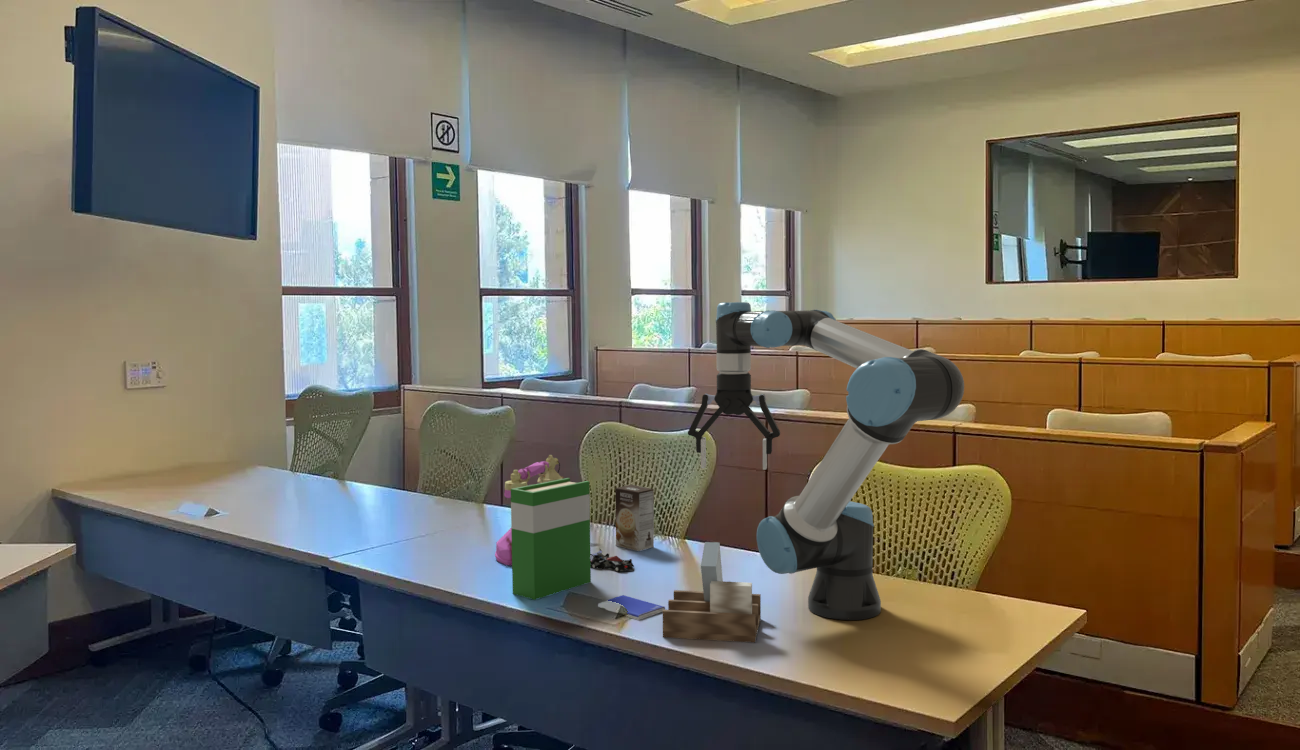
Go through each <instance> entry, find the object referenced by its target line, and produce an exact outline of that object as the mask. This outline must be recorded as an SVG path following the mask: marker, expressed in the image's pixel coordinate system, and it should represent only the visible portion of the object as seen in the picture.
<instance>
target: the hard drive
mask: <svg viewBox="0 0 1300 750" xmlns="http://www.w3.org/2000/svg"><path fill="white" fill-rule="evenodd" d="M607 600H608V601H612V602H616V603H619V604H621V605H623V606H624V607H625V608H626V609H627V611H628V612H627V614H628V616H629V617H628V618H629V619H630V618H631V619H634V620H637V621H639V620H642V619H646V618H648V617H651V616H654V615H657V614H660V613H663V610H666V606H663V605H660V604H657V603H652V602H649V601H646V600H642V599H639V598H636V597H635V598H634V597H631V596H627V595H624V594H623V595H618V596H616V597H612V598H609V599H607Z"/></svg>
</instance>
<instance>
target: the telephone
mask: <svg viewBox="0 0 1300 750" xmlns="http://www.w3.org/2000/svg"><path fill="white" fill-rule="evenodd" d="M556 465H558V466H559V467H558V470H557V471H556V469H555V468H556ZM560 469H561V463H560V462H559V458H557V457H553V455H552V454H548V456H547V458H546V459H545V460H544V461H536V462H534V463H532V464H530V465H528V466H526V467H524V468H520V469H513V471H512V473H510V480H506V481H504V494H503V495H504V497H505V498H506V499H511V489H513V488H518V487H523V486H528V482H529V481H530V480H531V478H532V477H535V476H536V475H537V476H539V477H538V479H537V480H536V481H537V483H538V484H539V483H544V482H549V481H554V480H559V479H564V478H565V476H562V475H560V473H559V472H560ZM495 543H496V546H495V548H496V549H495V552H494V553H495V554H494V557H495V558H496V561H497V562H498V563H501V564H503V565H506V566H512V532H511V527H510V528H509V529H508V530H507V531H506V532H505V533H504V534H503V535H502V536H501V537H500V538H499V539H498V540H497V542H495Z"/></svg>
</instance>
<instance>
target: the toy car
mask: <svg viewBox="0 0 1300 750" xmlns="http://www.w3.org/2000/svg"><path fill="white" fill-rule="evenodd" d="M590 556H592V559H591V569H599V570H605V571H614V572H616V573H621V572H626V571H629V572H630V571H631V572H632V571H633V572H634V571H635V569H634V568H635V565H634V563H633V560H632V558H630V559H621V558H620V557H619V556H617V555H614V556H610V553H606V554H603V550H602V549H601V548H600V547H599V550H598V551H597V552H594V553H590Z"/></svg>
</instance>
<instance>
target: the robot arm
mask: <svg viewBox="0 0 1300 750" xmlns="http://www.w3.org/2000/svg"><path fill="white" fill-rule="evenodd" d="M715 326H716V328H715V330H716V335H715V336H716V354H715V355H716V370H717V372H719V373H717V374H716V394H713V395H712V394H709V393H704V394H703V395H702V396H701V405H700V407H699V408H698V411H697V413H696V415H695V417H694V418H693V421H692V423H691V425H690V427H689V429H688V431H687V434H688V436H690V437H694V438H695V450H696V453H698V454H699V453H700V468H701V469H705V468H706V467H707V438H706V437H703V436H704V434H705V433H706V432H707V431H708V430H709V429H710V428H711V427H712V426H713V424H714V423H716V421H717V419H718V418H719V417H720V416H721V415H722V413H723V414H725V415H726V416H731V415H736V416H741V415H742V414H744V415H745V416H746V417H747V418H748V419H749V420H750V421H751V422H752V423H753V425H754V426H755V427H756V428H757V430H758V431H759V432H760V433H761V434H762V435H763V436H764V437H765V438H763V439H762V471H763V470H767V469H768V455H771V454H772V452H773V440H774V439H775V438H778V437H780V435H781V431H780V429H779V427H778V425H777V423H776V420H775V419H774V417H773V414H772V412H771V411H770V409H769V407H768V405H767V401H766V400H767V398H766V395H765V393H760V394H757V395H753V394H752V375H751V374H750V373H749V371H752V356H751V353H752V350H751V347H762V348H766V349H770V348H779V347H789V346H790V347H795V346H796V347H797V346H805V347H807V348H810V349H812V350H815V351H816V352H819V353H821V354H824V355H826V356H828V357H831V358H833V359H835V360H837V361H839V362H841V363H843V364H846V365H849V366H851V367H852V368H855V370H854V371H853V373H852V374H851V375H850V377H849V380H848V382H847V386H846V392H848V393H847V395H846V396H845V400H846V405H847V406H846V413H847V415H848V419H847V421H846V422H845V424H844V425H843V427H842V429H841V431H839V433H838V434H837V436H836V438H835V439H834V441H833V442H832V444H831V446H830V447H829V449H828V450H827V452H826V454H825V455H824V457H823V458H822V460H821V461H820V463H819V465H818V466H817V467H816V469H815V471H814V472H813V474H812V475H811V477H810V478H809V480H808V482H807V483H806V484H805V486H804V488H803V490H802V491H801V493H799V495H795V496H791V497H790V498H789V499H787V500H786V502H785V503H784V504H783V506H782V508H781V509H780V511H779V512H778V513H777V514H776V515H768V516H767V517H765V518H763V519H762V520H760V522H759V523H758V526H757V529H756V543H757V549H758V552H759V555H760V557H761V559H762V561H763V563H764V564H765V565H766V567H767V568H769V570H771V572H774V573H775V574H780V575H785V574H791V575H792V574H795V573H799V572H803V571H808V570H812V569H816V573H815V576H814V578H813V582H812V584H811V588H810V591H809V594H808V597H807V598H808V600H807V602H808V605H807V606H808V610H809V611H810V612H811V613H813V614H815V615H817V616H820V617H824V618H828V619H832V620H833V619H834V620H841V621H842V620H844V621H859V620H867V619H871V618H874V617H876V616H878V615H880V614H881V609H882V608H881V607H882V601H881V597H880V595H879V591H878V588H877V585H876V582H875V577H874V574H873V573H874V572H873V565H874V564H873V561H874V560H873V556H874V526H875V524H874V521H873V519H874V517H873V511H872V509H871V507H869V506H868V505H866V504H864V503H860V502H855V501H852V499H853V497H854V495H855V494H856V493H857V491H858V490H859V489H860V487H861V486H862V484H863V482H864V481H865V480H866V478H867V477H868V475H869V474H870V473H871V471H872V470H873V468H874V467H875V465H876V464H877V462H878V461H879V459H880V458H881V457H882V455H883V454H884V453H885V451H886V449H887V448H888V446H889V445H896V444H898V443H901V442H902V441H903V440H904V439H905V437H906V436H907V434H908V433H909V432H910V431H911V428H912V427H913V426H914V425H915V424H916V423H917V422H922V421H924V422H925V421H932V420H939V419H942V418H944V417H946V416H949V415H950V414H951V413H952V412H954V411H955V410H956V409H957V407H959V405H960V403H961V402H962V400H963V397H964V393H965V381H964V376H963V374H962V373H961V370H960V369H959V367H958V366H957V365H956V364H955V363H954V362H953V361H952V360H950V359H948V358H946V357H944V356H942V355H940V354H937V353H934V352H932V351H929V350H927V349H923V348H922V349H921V348H919V349H915V350H911V349H909V348H907V347H904V346H901V345H900V344H899V345H898V344H896V343H895V342H894V343H893V342H891V341H888V340H886V339H884V338H881V337H879V336H876V335H873V334H871V333H869V332H866V331H864V330H860V329H858V328H856V327H854V326H851V325H848V324H845V323H843V322H840V321H838V320H836V318H835V317H834V315H833V314H832V313H831V312H829V311H827V310H820V309H812V310H811V309H810V310H809V309H808V310H769V309H768V310H756V311H755V310H753V311H752V308H751V304H750V303H749V302H748V301H747V302H746V301H744V302H741V301H740V302H739V301H735V302H731V301H730V302H729V301H727V302H719V303H718V304H717V306H716V319H715ZM712 402H715V403H716V405H717V407H718V408H717V409H716V410H715V412H714V413H713V414H712V415H711V416H710V417H709V419H708V420H707V421H706V422H705V423H704V424H703V426H702V427H701V428H700V429H699V430H697V428H698V426H699V424H700V422H701V420H702V418H703V416H704V414H705V412H706V410H707V408H708V405H711V404H712ZM753 402H755V403H756V405H758V406H759V407H760V409H761V412H762V414H763V415H764V417H765V420H766V421H767V424H768V425H769V428H770V429H771V431H770V430H769V429H768V428H767V427H766V426H765V425H764V423H763V422H762V421H761V420H760V419H759V416H757V415H756V414H755V413H754V411H753V410H752V408H751V407H750V406H751V404H752V403H753Z"/></svg>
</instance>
